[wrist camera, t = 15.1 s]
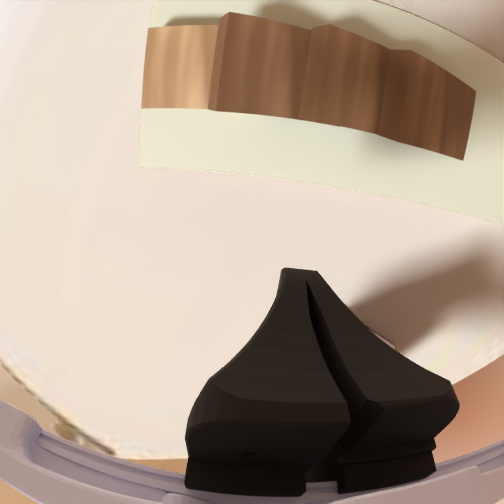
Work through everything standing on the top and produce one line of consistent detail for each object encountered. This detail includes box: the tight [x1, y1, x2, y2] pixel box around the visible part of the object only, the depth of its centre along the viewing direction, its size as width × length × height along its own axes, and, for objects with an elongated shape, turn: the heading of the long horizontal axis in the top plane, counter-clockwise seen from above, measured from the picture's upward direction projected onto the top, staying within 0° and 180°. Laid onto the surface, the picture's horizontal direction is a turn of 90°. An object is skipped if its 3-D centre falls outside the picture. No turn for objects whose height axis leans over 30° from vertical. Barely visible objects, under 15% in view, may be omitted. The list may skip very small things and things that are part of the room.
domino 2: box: [208, 12, 340, 127], centre depth 13 cm, size 2×5×7 cm
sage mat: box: [140, 0, 504, 226], centre depth 15 cm, size 30×13×1 cm, turn 84°
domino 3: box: [299, 24, 390, 134], centre depth 13 cm, size 2×5×7 cm
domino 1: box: [141, 25, 218, 109], centre depth 14 cm, size 2×5×7 cm
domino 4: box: [377, 49, 476, 161], centre depth 13 cm, size 2×5×7 cm
